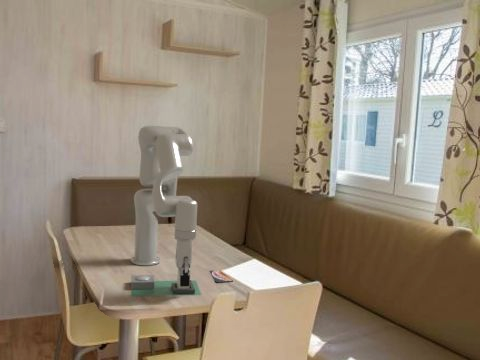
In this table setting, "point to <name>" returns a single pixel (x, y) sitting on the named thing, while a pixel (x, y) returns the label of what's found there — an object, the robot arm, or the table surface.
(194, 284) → the board
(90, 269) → the table surface
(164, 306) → the table surface
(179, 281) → the plug
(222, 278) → the smartphone
